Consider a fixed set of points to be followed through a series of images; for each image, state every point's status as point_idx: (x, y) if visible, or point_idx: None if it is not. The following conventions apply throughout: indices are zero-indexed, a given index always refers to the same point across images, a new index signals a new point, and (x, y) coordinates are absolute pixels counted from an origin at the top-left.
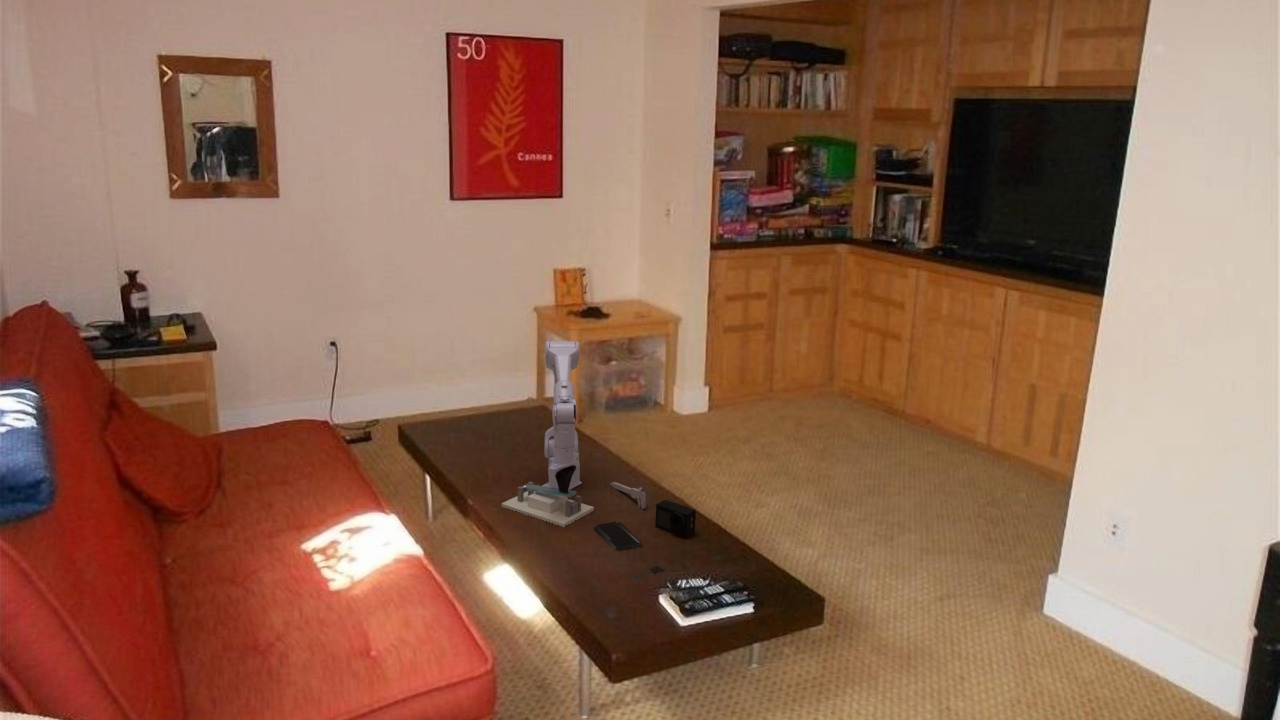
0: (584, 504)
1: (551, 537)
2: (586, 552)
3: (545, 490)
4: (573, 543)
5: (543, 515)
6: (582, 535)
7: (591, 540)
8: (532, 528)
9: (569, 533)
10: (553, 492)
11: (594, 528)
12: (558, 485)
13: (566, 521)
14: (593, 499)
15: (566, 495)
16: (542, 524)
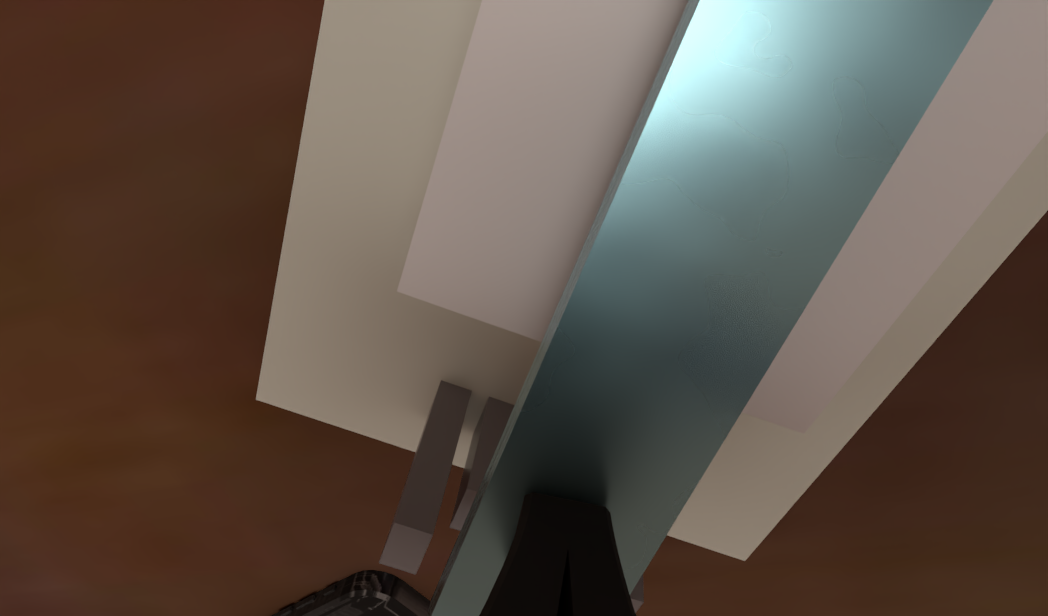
0: (800, 487)
1: (26, 326)
2: (6, 568)
3: (625, 213)
4: (58, 488)
5: (348, 153)
6: (218, 519)
7: (181, 574)
8: (63, 89)
9: (192, 437)
10: (531, 384)
11: (357, 579)
12: (500, 580)
13: (319, 413)
14: (1042, 498)
15: (443, 573)
16: (221, 168)
